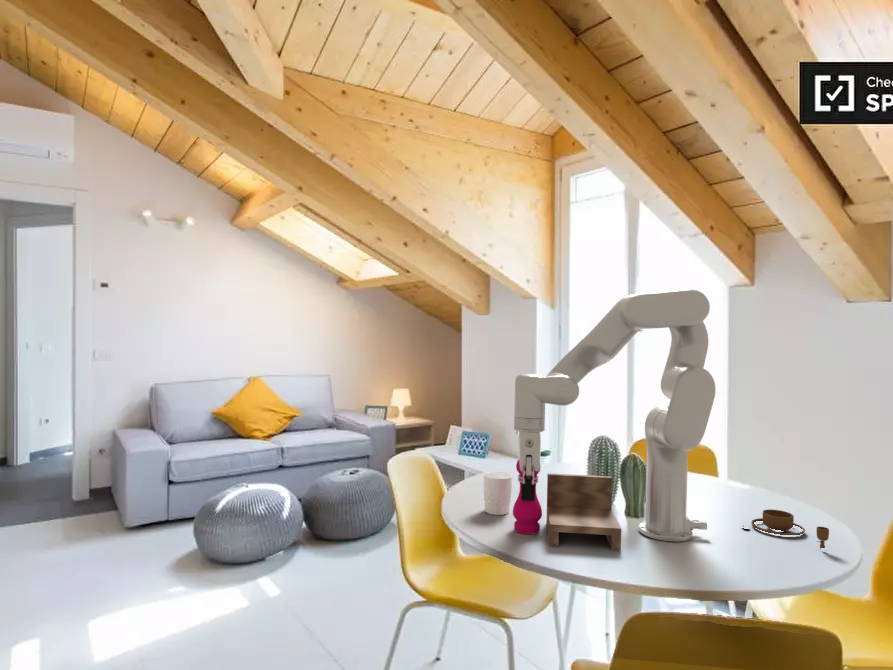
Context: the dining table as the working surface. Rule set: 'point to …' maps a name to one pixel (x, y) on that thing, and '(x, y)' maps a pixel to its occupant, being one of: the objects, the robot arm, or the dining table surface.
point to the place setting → (786, 524)
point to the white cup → (497, 492)
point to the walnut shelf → (581, 507)
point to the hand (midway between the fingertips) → (527, 496)
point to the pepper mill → (527, 508)
